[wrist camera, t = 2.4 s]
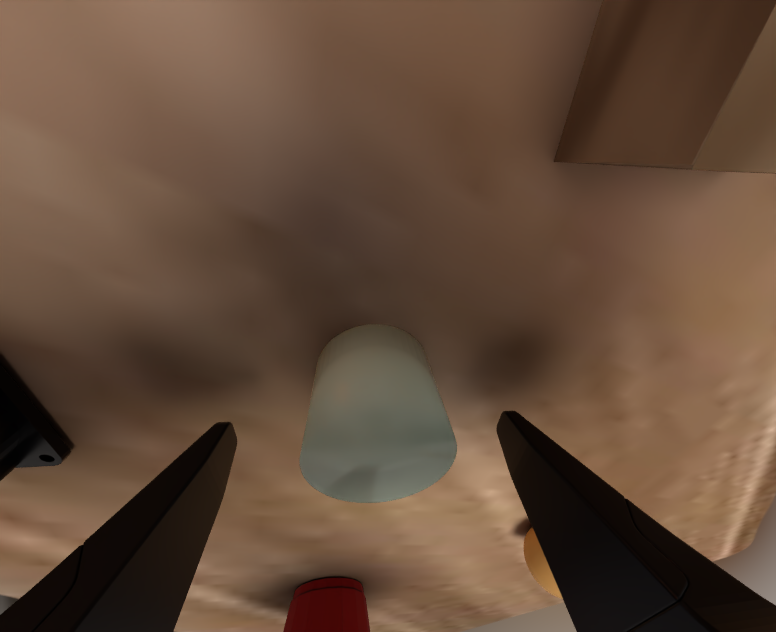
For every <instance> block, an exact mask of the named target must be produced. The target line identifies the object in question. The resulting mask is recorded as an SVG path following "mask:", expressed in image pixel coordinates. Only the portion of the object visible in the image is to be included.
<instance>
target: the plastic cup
mask: <svg viewBox="0 0 776 632" xmlns="http://www.w3.org/2000/svg"><path fill="white" fill-rule="evenodd" d="M283 632H370V627H369V619H368V612H367V604H366V598H365V596H364V591H363V587H362V585H361V583H360V582H358V581H356V580H354V579H348V578H325V579H319V580H314V581H311V582H308V583H306V584H303V585H301V586H300V587H299V588H297V589H296V590H295V593H294V597H293V600H292V601H291V604H290V607H289V611H288V615H287V619H286V623H285V627H284V631H283Z"/></svg>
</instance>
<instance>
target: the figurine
mask: <svg viewBox="0 0 776 632" xmlns="http://www.w3.org/2000/svg"><path fill="white" fill-rule="evenodd" d="M524 556H525V560H526V563H527V566H528V568H529V570H530V572H531V574H532V575H533V577H534V578H535V580H536V581H537V582H538V583H539V584H540V586H541V587H543V588H544V589H545V590H546V591H547V592H549V593H550V594H552V595H554V596H556V597H558V598H561V599H563V598H562V596H561V593H560V591H559V588H558V586H557V584H556V581H555V579H554V577H553V574H552V572H551V570H550V567H549V565H548V563H547V560H546V558H545V556H544V553H543V551H542V549H541V546H540V544H539V542H538V539H537V537H536V535H535V532H534V530H533V527H532V528H531V529H530V530H529V531H528V532H527V534H526V537H525V540H524Z"/></svg>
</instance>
